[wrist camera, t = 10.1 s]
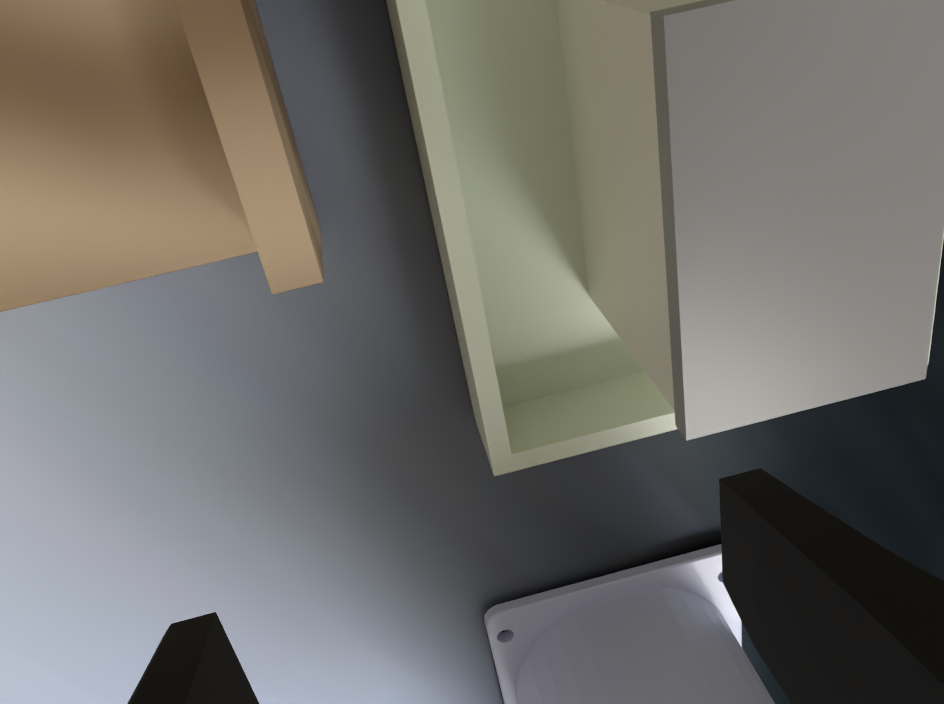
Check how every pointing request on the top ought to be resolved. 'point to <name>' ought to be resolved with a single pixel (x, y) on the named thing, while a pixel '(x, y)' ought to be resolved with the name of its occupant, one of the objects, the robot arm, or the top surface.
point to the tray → (516, 232)
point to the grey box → (760, 194)
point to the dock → (144, 147)
